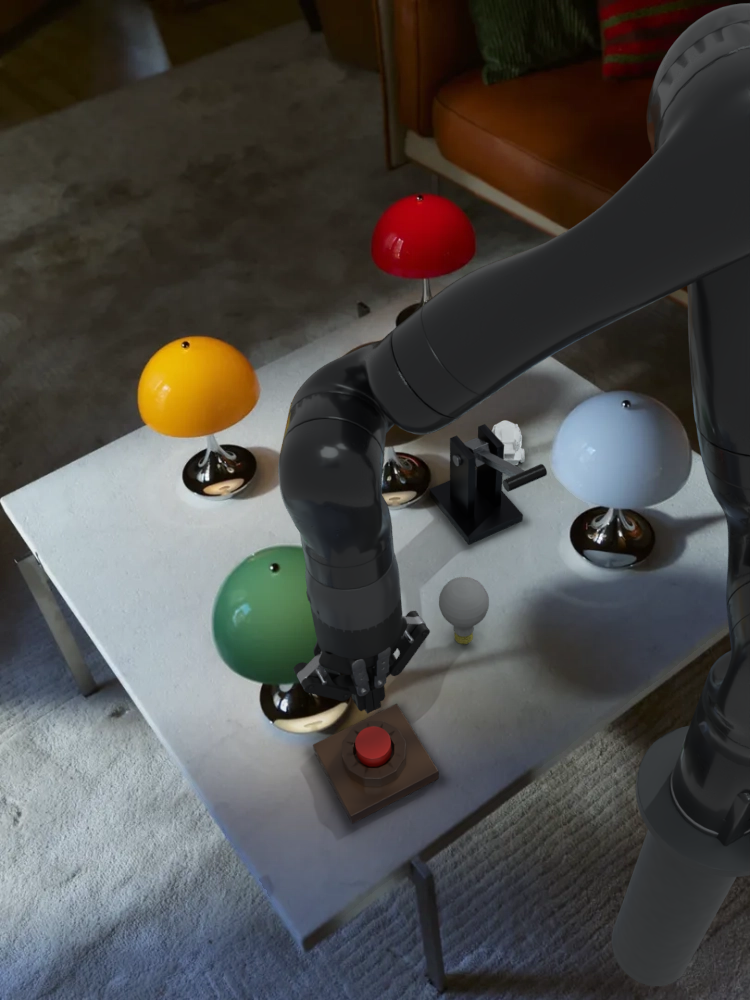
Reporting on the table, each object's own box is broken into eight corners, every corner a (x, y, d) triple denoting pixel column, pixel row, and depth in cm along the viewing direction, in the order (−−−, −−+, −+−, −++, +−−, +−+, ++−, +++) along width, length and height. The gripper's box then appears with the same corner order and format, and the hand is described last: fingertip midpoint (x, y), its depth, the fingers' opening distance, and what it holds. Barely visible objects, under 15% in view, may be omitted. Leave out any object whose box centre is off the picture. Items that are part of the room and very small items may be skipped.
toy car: (489, 472, 127) (489, 449, 124) (485, 431, 132) (486, 409, 129) (525, 471, 127) (526, 448, 124) (520, 430, 132) (521, 408, 129)
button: (397, 757, 96) (397, 748, 94) (366, 773, 95) (365, 764, 93) (381, 729, 98) (380, 720, 97) (350, 744, 97) (349, 736, 96)
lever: (548, 481, 106) (545, 461, 105) (511, 497, 105) (507, 478, 104) (490, 450, 118) (486, 433, 117) (455, 465, 116) (451, 447, 115)
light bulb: (430, 632, 109) (429, 579, 102) (471, 613, 111) (472, 559, 104) (454, 667, 106) (455, 614, 99) (496, 647, 108) (499, 593, 100)
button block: (439, 778, 97) (438, 762, 94) (352, 824, 94) (349, 808, 92) (397, 711, 103) (396, 694, 100) (314, 752, 100) (310, 735, 97)
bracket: (522, 520, 121) (528, 454, 112) (468, 544, 118) (470, 478, 110) (481, 473, 127) (483, 406, 118) (429, 495, 125) (427, 428, 116)
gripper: (299, 658, 73) (323, 766, 85) (447, 589, 76) (450, 703, 89) (262, 591, 78) (290, 703, 90) (403, 529, 81) (411, 645, 94)
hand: (369, 703), depth 90 cm, fingers closed
